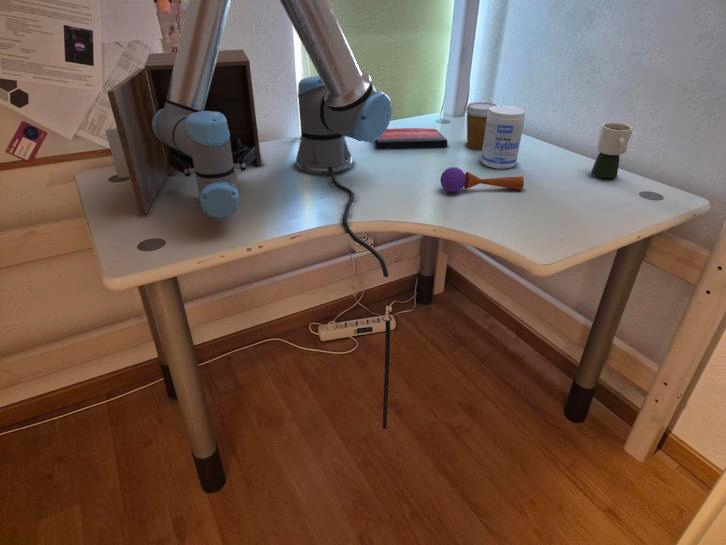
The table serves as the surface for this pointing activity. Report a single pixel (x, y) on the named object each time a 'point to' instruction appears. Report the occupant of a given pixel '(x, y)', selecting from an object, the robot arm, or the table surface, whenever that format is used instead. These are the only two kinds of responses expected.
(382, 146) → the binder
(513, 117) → the supplement tub
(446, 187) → the kendama
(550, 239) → the table surface
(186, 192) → the table surface
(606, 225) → the table surface
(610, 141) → the character mug
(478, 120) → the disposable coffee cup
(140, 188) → the cupboard
